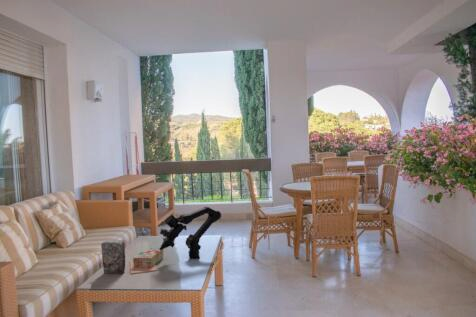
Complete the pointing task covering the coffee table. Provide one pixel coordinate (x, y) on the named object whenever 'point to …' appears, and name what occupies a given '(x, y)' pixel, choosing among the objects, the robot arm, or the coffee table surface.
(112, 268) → the stone block
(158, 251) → the stack of blocks
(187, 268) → the coffee table surface
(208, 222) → the robot arm
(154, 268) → the mat
